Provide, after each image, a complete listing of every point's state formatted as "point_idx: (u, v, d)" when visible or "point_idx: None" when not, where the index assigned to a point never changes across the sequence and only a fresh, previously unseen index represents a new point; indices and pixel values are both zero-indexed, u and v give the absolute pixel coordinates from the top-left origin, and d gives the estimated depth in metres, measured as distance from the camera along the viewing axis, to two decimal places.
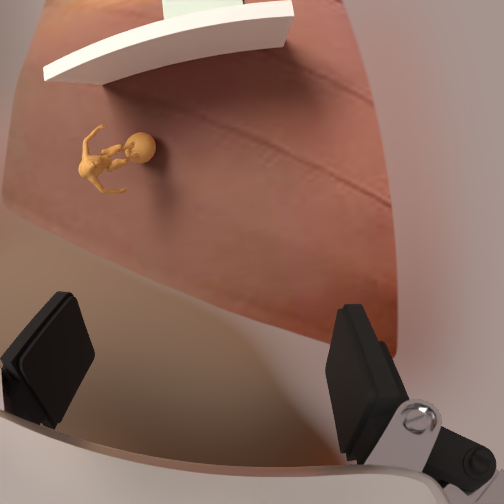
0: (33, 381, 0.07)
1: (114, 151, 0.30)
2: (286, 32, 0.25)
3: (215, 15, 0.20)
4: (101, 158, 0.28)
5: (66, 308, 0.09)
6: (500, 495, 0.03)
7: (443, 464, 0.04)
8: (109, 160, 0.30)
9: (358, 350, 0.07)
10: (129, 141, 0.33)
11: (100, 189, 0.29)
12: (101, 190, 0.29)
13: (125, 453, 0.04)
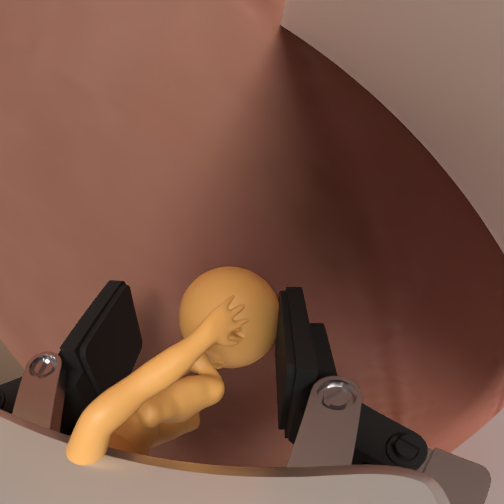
0: (94, 369, 0.08)
1: (190, 415, 0.07)
2: None
3: None
4: None
5: (121, 296, 0.10)
6: (442, 474, 0.04)
7: (363, 444, 0.05)
8: (154, 440, 0.06)
9: (287, 327, 0.08)
10: None
11: None
12: None
13: (125, 453, 0.04)
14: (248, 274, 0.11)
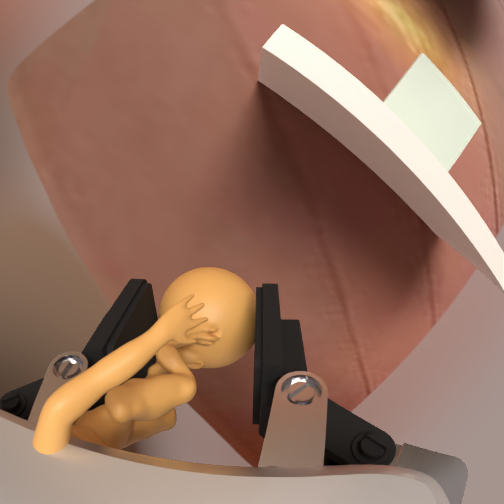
0: None
1: (162, 413, 0.07)
2: (470, 262, 0.23)
3: (486, 242, 0.16)
4: None
5: (144, 294, 0.10)
6: (414, 470, 0.05)
7: (328, 441, 0.06)
8: (127, 437, 0.06)
9: (259, 322, 0.09)
10: (205, 313, 0.10)
11: None
12: None
13: (125, 453, 0.04)
14: (226, 274, 0.11)
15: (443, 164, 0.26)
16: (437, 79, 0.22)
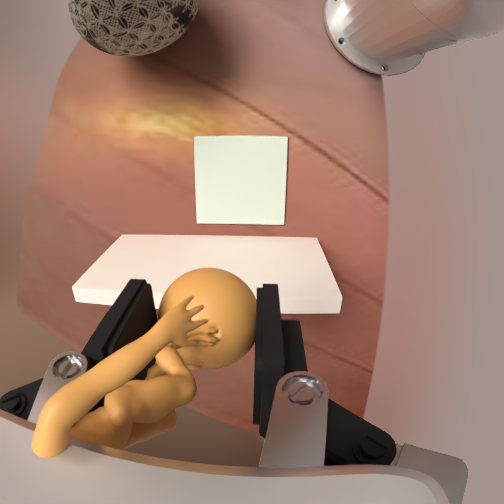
0: None
1: (162, 415, 0.07)
2: None
3: None
4: None
5: (144, 294, 0.10)
6: (414, 470, 0.05)
7: (328, 441, 0.06)
8: (127, 439, 0.06)
9: (259, 322, 0.09)
10: (205, 314, 0.10)
11: None
12: None
13: (125, 453, 0.04)
14: (225, 275, 0.11)
15: (276, 201, 0.34)
16: (220, 145, 0.32)
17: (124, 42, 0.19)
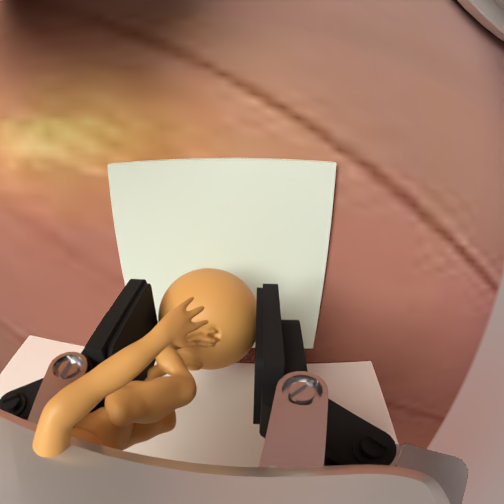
0: None
1: (162, 416, 0.07)
2: None
3: None
4: None
5: (144, 294, 0.10)
6: (414, 470, 0.05)
7: (328, 441, 0.06)
8: (127, 440, 0.06)
9: (259, 322, 0.09)
10: (205, 314, 0.10)
11: None
12: None
13: (125, 453, 0.04)
14: (225, 276, 0.11)
15: (300, 309, 0.15)
16: (167, 183, 0.13)
17: None
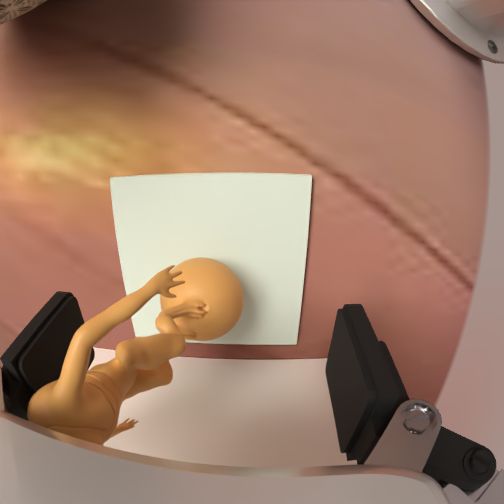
0: (33, 381, 0.07)
1: (158, 363, 0.09)
2: None
3: None
4: (118, 407, 0.07)
5: (66, 308, 0.09)
6: (500, 495, 0.03)
7: (443, 464, 0.04)
8: (132, 384, 0.09)
9: (358, 350, 0.07)
10: (195, 292, 0.13)
11: None
12: None
13: (125, 453, 0.04)
14: (212, 262, 0.14)
15: (283, 308, 0.17)
16: (163, 195, 0.15)
17: None
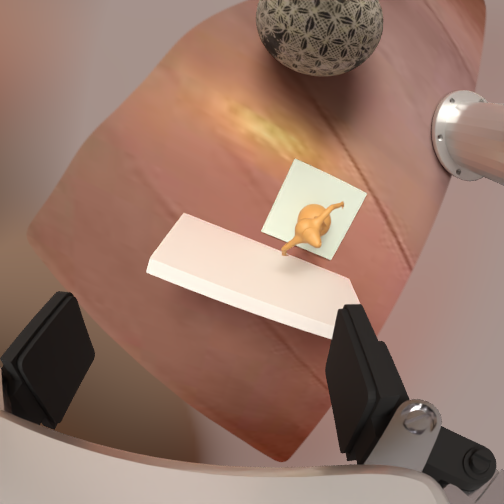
0: (33, 381, 0.07)
1: None
2: None
3: (321, 328, 0.29)
4: None
5: (66, 308, 0.09)
6: (500, 495, 0.03)
7: (443, 464, 0.04)
8: None
9: (358, 350, 0.07)
10: None
11: (287, 248, 0.29)
12: (286, 249, 0.29)
13: (125, 453, 0.04)
14: (325, 208, 0.35)
15: (334, 240, 0.39)
16: (313, 176, 0.36)
17: (306, 61, 0.22)
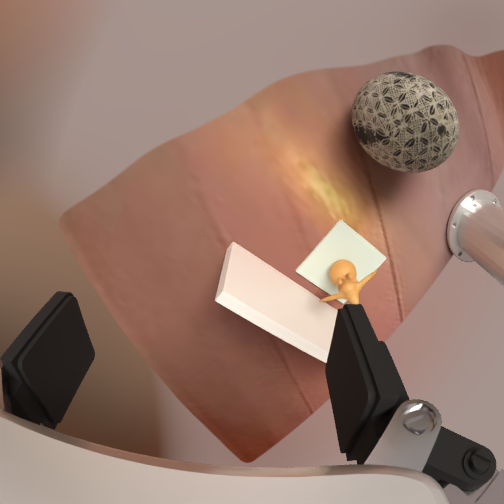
0: (33, 381, 0.07)
1: None
2: None
3: None
4: None
5: (66, 308, 0.09)
6: (500, 496, 0.03)
7: (443, 464, 0.04)
8: None
9: (358, 350, 0.07)
10: (351, 271, 0.41)
11: (329, 300, 0.35)
12: (328, 300, 0.35)
13: (125, 453, 0.04)
14: None
15: None
16: (350, 236, 0.43)
17: (389, 162, 0.29)
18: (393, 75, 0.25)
